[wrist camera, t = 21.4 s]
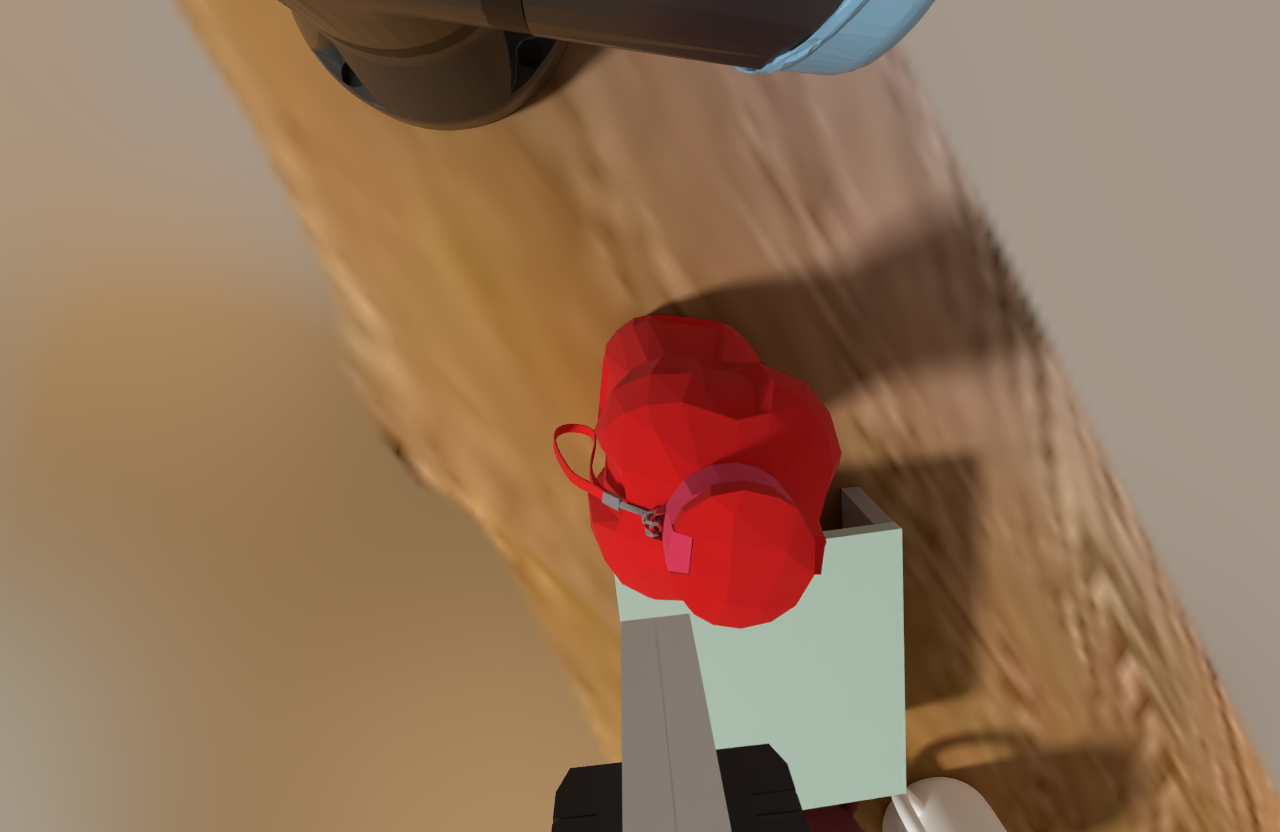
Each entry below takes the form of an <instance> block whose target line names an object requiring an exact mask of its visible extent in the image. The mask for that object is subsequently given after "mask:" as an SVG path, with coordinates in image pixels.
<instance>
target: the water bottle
mask: <svg viewBox="0 0 1280 832" xmlns="http://www.w3.org/2000/svg"><path fill="white" fill-rule="evenodd" d="M567 432H576V433H582V434H585V435H588V436H590V437H591V438H592V439H593V441H594V447H593V451H592V455H591V461H590V471H589V473H590V481H591V482H590V481H588V480H585V479H583V478H581V477H580V476H578V475H577V474H575V473H574V472H573V471H572V470H571V469H570V467H569V466H568V464H567V463H566V461H565V460H564V458H563V456H562V455H561V453H560V451H559V449H558V446H557V442H556V438H557V437H558V436H559V435H561V434H563V433H567ZM596 436H597V438H598V441H599V443H600V445H601V448H602V449H603V451H604V452H605V453H606V462H605V467H604V468H603V470H602V471H601V472H600V474H599V475H598V477H597V478H596V477H595V475H594V473H593V470H592V464H593V459H594V454H595V449H596ZM553 446H554V452H555V455H556V457H557V460H558V462H559V464H560V466H561V468H562V469H563V471H564V472H565V474H566V476H567V477H568V478H569V479H570V481H571V482H572V483H573V484H575V485H576V486H578V487H579V488H581V489H583V490H585V491H587V492H589V493H588V499H589V510H590V520H591V528H592V530H593V533H594V535H595V538H596V540H597V543H598V545H599V548H600V550H601V552H602V555H603V557H604V560H605V561H606V563H607V564H608V565H609V567H610V568H611V569H612V571H613V572H614V574H615V575H616V576H617V578H618V579H619V581H620V582H621V583H622V584H623V585H625V586H627V587H629V588H631V589H633V590H635V591H637V592H639V593H641V594H643V595H644V596H646V597H649V598H652V599H655V600H677V601H683V602H684V603H685V604H686V605H687V607H688V608H689V609H690V610H691V612H692V613H693V614H694V615H696V616H698V617H700V618H702V619H703V620H705V621H707V622H709V623H711V624H713V625H718V626H725V627H732V628H739V629H742V628H747V627H751V626H756V625H760V624H764V623H769V622H772V621H773V620H775V619H776V618H778V617H779V616H781V615H782V614H784V613H786V612H787V611H789V610H790V609H792V608H793V607H795V606H796V605H797V603H798V601H799V600H800V598H801V596H802V595H803V593H804V592H805V590H806V588H807V587H808V585H809V583H810V582H811V580H812V578H813V577H814V575H821V572H822V564H823V557H824V549H825V546H826V543H827V542H826V536H824V533H823V531H822V528H821V525H820V522H819V520H820V517H821V513H822V509H823V505H824V501H825V498H826V494H827V491H828V489H829V486H830V484H831V482H832V479H833V477H834V475H835V472H836V470H837V467H838V465H839V462H840V457H841V450H840V446H839V443H838V439H837V436H836V432H835V429H834V425H833V422H832V418H831V415H830V413H829V411H828V410H827V409H826V408H825V406H824V405H823V404H822V403H821V401H820V400H819V399H818V397H817V396H816V395H815V394H814V392H813V391H812V390H811V389H810V387H809V386H808V385H807V383H806V382H803V381H801V380H799V379H796V378H794V377H792V376H790V375H787V374H785V373H783V372H780V371H778V370H776V369H773V368H771V367H769V366H766V365H764V364H761V363H760V360H759V358H758V356H757V354H756V353H755V351H754V350H753V349H752V347H751V346H750V344H749V343H748V342H747V341H746V340H745V338H744V337H743V336H742V335H741V334H740V333H739V332H737V331H736V330H735V329H734V328H732V327H731V326H730V325H729V324H725V323H721V322H717V321H713V320H709V319H699V318H689V317H680V316H670V315H648V316H642V317H637V318H634V319H632V320H631V321H629V322H628V323H627V324H625V325H624V326H622V327H621V328H620V329H618V330H617V331H616V333H615V334H614V335H613V336H612V338H611V339H610V340H609V342H608V343H607V346H606V350H605V355H604V360H603V370H602V380H601V391H600V402H599V413H598V423H597V425H596V427H595V430H593V429H591V428H590V427H588V426H585V425H580V424H566V425H562V426H560V427H559V428H557V429H556V431H555V433H554V442H553Z"/></svg>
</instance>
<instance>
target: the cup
mask: <svg viewBox="0 0 1280 832" xmlns="http://www.w3.org/2000/svg"><path fill="white" fill-rule="evenodd" d="M891 797H892V800H891V802H890V803H889V805H888V807H887V809H886V811H885V814H884V818H883V823H882V832H1007V831H1006V830H1005V828H1004V826H1003V825H1002V823H1001V822H1000V820H999V819H998V817H997V816H996V814H995V813H994V811H993V810H992V808H991V807H990V806H989V804H988V803H987V802H986V800H985V799H984V798H983V796H982V795H981V794H980V793H979V792H978V791H977V790H975V789H974V788H973V787H971V786H970V785H968V784H966V783H964V782H962V781H960V780H957V779H953V778H948V777H931V778H926V779H922V780H919V781H916V782H914V783H912V784H910V785H908V786H906V794H900V795H894V796H891Z"/></svg>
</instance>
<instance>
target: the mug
mask: <svg viewBox="0 0 1280 832" xmlns="http://www.w3.org/2000/svg"><path fill="white" fill-rule="evenodd" d="M858 804H859V801H856V802H850V803H844V804H837V805H831V806H825V807H818V808H812V809H806V810H802V811H803V815H804V816H805V819H806V822H807V825H808V828H809V831H810V832H864V831H863V829H862V828H861V827H860V826H859V825H858V823H857V822H856V821H855V819H854V818H853V814H854V812H855V811H856V809H857V807H858Z"/></svg>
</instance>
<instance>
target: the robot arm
mask: <svg viewBox="0 0 1280 832" xmlns="http://www.w3.org/2000/svg"><path fill="white" fill-rule="evenodd" d="M278 1H280V2H281V3H283V4H284V5H285V6H287V7H288V8H290V9H291V11H292V14H293V16H294V19H295V21H296V23H297V25H298V27H299V29H300V31H301V33H302V35H303V37H304V39H305V40H306V42H307V43H308V45H309V47H310V48H311V50H312V51H313V53H314V54H315V55H316V57H317V58H318V60H319V61H320V62H321V63H322V64H323V66H324V67H325V68H326V69H327V70H328V71H329V73H330V74H331V75H332V76H333V77H334V78H335V79H336V80H337V81H338V82H339V83H340V84H341V85H343V86H344V87H345V88H346V89H347V90H348V91H350V92H351V93H352V94H353V95H355V96H356V97H358V98H359V99H361V100H362V101H363V102H365V103H367V104H368V105H370V106H372V107H374V108H375V109H377V110H379V111H381V112H382V113H384V114H386V115H388V116H390V117H392V118H394V119H397V120H399V121H402V122H404V123H407V124H410V125H414V126H418V127H422V128H427V129H434V130H463V129H470V128H475V127H479V126H483V125H486V124H489V123H492V122H494V121H497V120H499V119H501V118H503V117H505V116H507V115H509V114H510V113H512V112H514V111H515V110H517V109H518V108H520V107H521V106H522V105H524V104H525V103H526V102H527V101H529V100H530V99H531V98H532V97H533V96H534V95H535V94H536V93H537V92H538V91H539V90H540V89H541V88H542V86H543V85H544V84H545V83H546V82H547V80H548V79H549V78H550V76H551V75H552V73H553V72H554V70H555V68H556V67H557V65H558V63H559V61H560V59H561V57H562V56H563V53H564V51H565V49H566V46H567V44H568V41H570V42H577V43H584V44H590V45H597V46H604V47H610V48H617V49H624V50H630V51H637V52H644V53H650V54H657V55H664V56H670V57H677V58H684V59H690V60H697V61H704V62H710V63H717V64H724V65H730V66H733V67H734V68H735V69H737V70H739V71H741V72H744V73H748V74H753V75H757V74H759V73H763V74H769V73H773V72H776V71H787V72H798V73H808V74H819V75H837V74H842V73H846V72H851V71H855V70H857V69H859V68H862V67H864V66H867V65H868V64H870V63H872V62H873V61H875V60H876V59H878V58H879V57H881V56H882V55H884V54H885V53H886V52H888V51H889V50H890V49H891V48H893V47H894V46H895V45H896V44H897V43H898V42H899V41H900V40H901V39H902V38H903V37H905V36H906V34H907V33H908V32H909V31H910V30H911V29H912V28H913V27H914V26H915V25H916V24H917V23H918V21H919V20H920V19H921V18H922V17H923V15H924V14H925V13H926V12H927V10H928V9H929V8H930V6H931V5H932V4H933V2H934V1H935V0H278ZM621 703H622V762H621V763H612V764H603V765H595V766H586V767H577V768H570V770H569V771H568V773H567V775H566V776H565V778H564V780H563V781H562V783H561V785H560V786H559V788H558V790H557V791H556V796H555V806H554V814H553V824H552V832H810V831H809V828H808V825H807V822H806V819H805V816H804V815H803V811H802V807H801V804H800V801H799V798H798V795H797V794H796V789H795V786H794V783H793V779H792V776H791V773H790V770H789V767H788V764H787V763H786V762H785V761H784V760H783V758H782V757H781V756H780V755H779V754H778V753H777V752H776V751H775V750H774V749H773V748H772V747H771V745H770V744H769V743H768V744H760V745H751V746H742V747H734V748H725V749H715V743H714V738H713V733H712V728H711V723H710V718H709V712H708V707H707V702H706V697H705V692H704V687H703V681H702V676H701V671H700V666H699V661H698V656H697V651H696V645H695V640H694V635H693V630H692V625H691V620H690V614H681V615H672V616H663V617H654V618H646V619H637V620H628V621H621Z"/></svg>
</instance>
